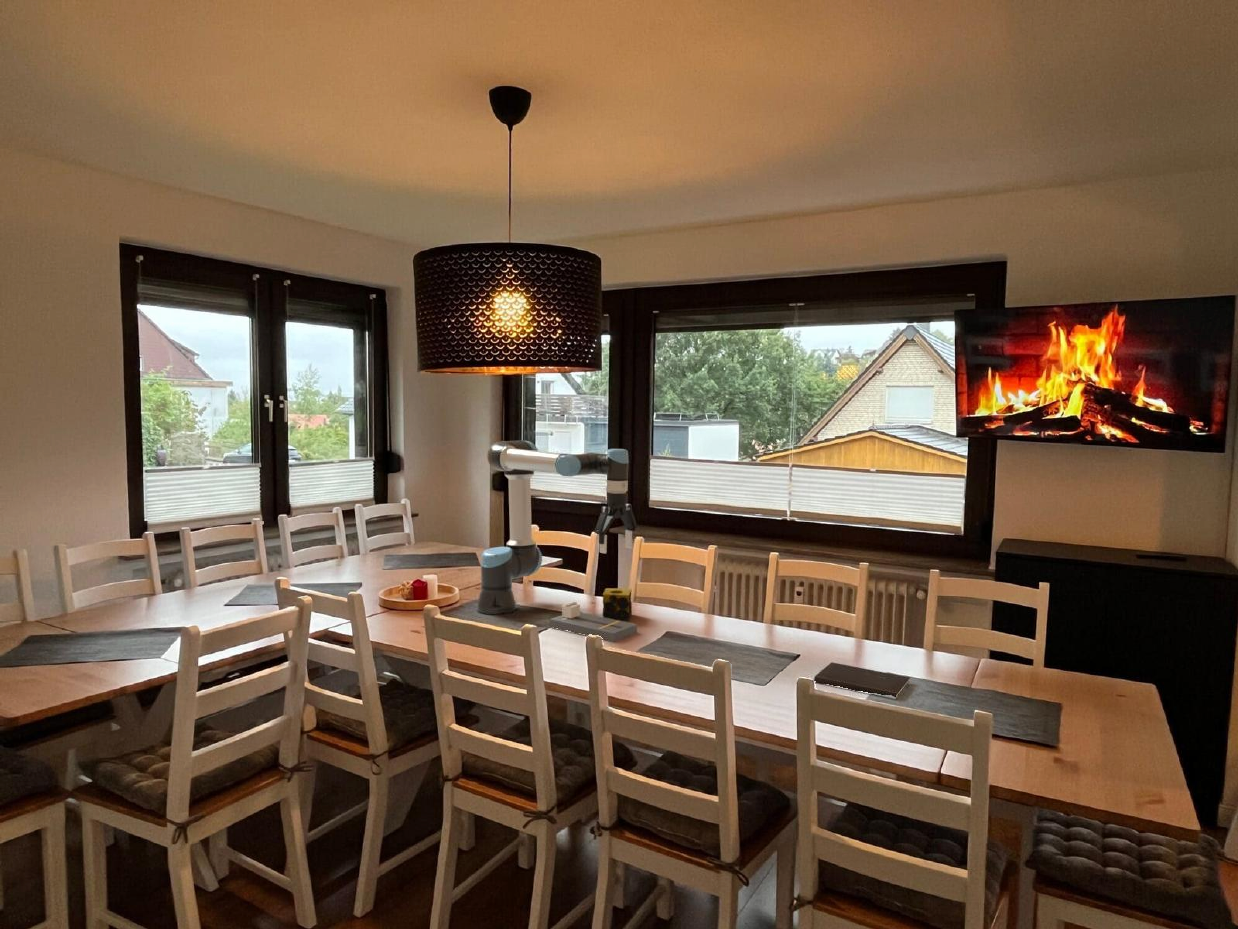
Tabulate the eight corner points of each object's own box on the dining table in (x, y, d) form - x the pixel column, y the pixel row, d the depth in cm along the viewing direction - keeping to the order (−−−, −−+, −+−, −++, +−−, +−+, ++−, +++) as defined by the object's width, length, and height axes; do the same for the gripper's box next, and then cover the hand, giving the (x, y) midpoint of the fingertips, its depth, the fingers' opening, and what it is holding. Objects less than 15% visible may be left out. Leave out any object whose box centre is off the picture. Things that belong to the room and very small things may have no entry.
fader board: (549, 627, 274) (549, 618, 274) (574, 619, 285) (574, 610, 285) (613, 642, 258) (613, 633, 257) (637, 632, 269) (637, 624, 269)
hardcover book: (831, 669, 236) (831, 662, 236) (909, 685, 223) (909, 677, 223) (813, 684, 222) (814, 676, 222) (896, 702, 210) (896, 693, 210)
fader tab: (562, 616, 276) (562, 604, 276) (571, 613, 280) (571, 601, 280) (570, 618, 274) (571, 605, 273) (579, 615, 278) (579, 603, 277)
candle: (631, 614, 293) (632, 588, 292) (629, 621, 283) (630, 595, 282) (605, 613, 294) (605, 587, 293) (602, 620, 284) (602, 594, 283)
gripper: (600, 495, 265) (599, 556, 266) (647, 490, 283) (646, 547, 285) (585, 493, 270) (584, 553, 271) (632, 488, 288) (631, 545, 290)
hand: (615, 550), depth 278 cm, fingers open, 13 cm apart
